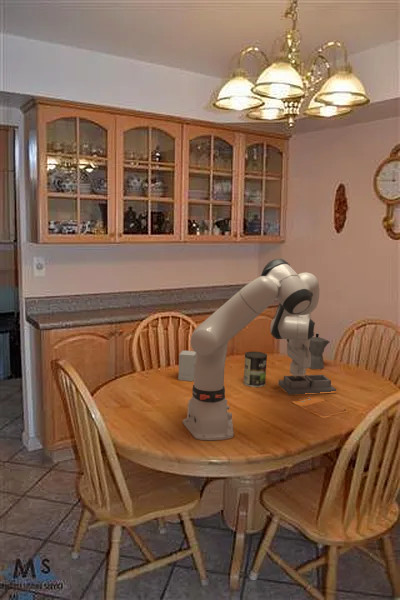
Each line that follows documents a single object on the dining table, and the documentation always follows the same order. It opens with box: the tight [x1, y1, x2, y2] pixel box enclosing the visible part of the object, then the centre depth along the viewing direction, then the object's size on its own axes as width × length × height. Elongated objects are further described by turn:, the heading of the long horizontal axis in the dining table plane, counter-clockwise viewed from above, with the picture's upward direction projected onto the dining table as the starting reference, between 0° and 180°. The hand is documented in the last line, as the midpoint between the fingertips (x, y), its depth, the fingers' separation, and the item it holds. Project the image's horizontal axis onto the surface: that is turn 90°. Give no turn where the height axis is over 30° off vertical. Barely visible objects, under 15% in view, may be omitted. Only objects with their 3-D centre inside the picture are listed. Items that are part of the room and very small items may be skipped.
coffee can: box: [243, 351, 268, 388], centre depth 230 cm, size 10×10×14 cm
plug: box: [289, 361, 307, 377], centre depth 224 cm, size 5×6×6 cm
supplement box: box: [177, 350, 197, 382], centre depth 234 cm, size 7×7×13 cm
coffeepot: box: [308, 333, 331, 370], centre depth 258 cm, size 15×9×18 cm, turn 67°
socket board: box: [277, 374, 337, 396], centre depth 226 cm, size 14×22×5 cm, turn 100°
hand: (297, 371), depth 224 cm, fingers closed on plug, 5 cm apart
